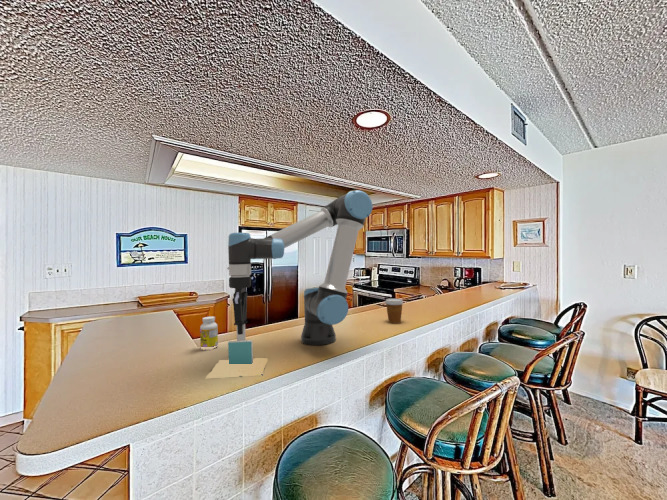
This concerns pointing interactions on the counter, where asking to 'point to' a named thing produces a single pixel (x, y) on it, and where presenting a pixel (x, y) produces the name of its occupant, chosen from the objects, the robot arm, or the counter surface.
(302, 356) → the counter surface
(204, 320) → the supplement bottle
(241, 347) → the tile
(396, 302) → the disposable coffee cup
